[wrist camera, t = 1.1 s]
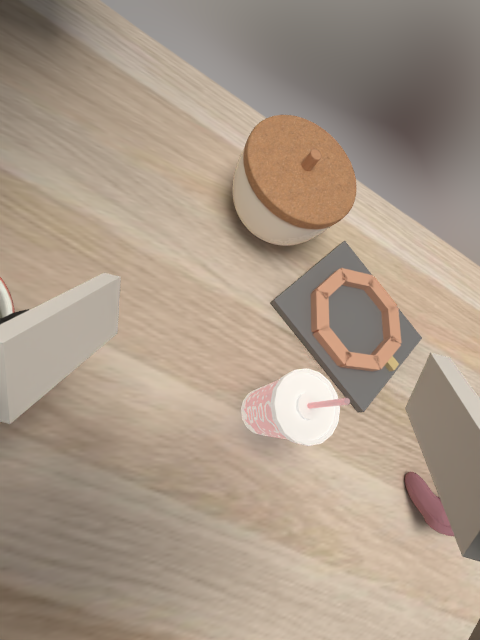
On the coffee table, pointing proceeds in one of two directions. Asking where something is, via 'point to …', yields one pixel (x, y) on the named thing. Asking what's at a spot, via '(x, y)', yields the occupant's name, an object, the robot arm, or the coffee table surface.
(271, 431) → the beverage cup
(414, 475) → the video game controller
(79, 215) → the coffee table surface
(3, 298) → the mug
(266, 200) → the lidded bowl
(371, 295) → the ring board
